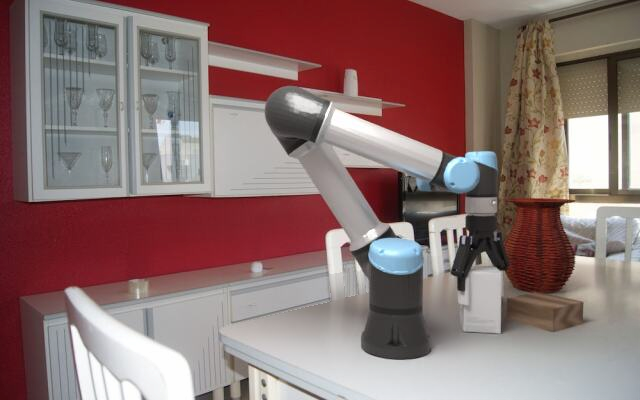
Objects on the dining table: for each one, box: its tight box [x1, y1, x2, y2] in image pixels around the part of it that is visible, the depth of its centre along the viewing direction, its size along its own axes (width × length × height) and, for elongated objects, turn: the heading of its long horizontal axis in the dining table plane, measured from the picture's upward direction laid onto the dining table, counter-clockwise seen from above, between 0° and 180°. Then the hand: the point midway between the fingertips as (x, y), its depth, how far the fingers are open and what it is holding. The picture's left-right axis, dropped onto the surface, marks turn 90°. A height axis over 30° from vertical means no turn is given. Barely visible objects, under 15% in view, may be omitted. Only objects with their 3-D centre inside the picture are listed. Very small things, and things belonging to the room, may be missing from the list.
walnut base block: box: [506, 292, 584, 333], centre depth 129 cm, size 13×13×6 cm
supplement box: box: [459, 265, 502, 335], centre depth 123 cm, size 9×9×15 cm
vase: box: [502, 197, 577, 294], centre depth 166 cm, size 23×24×30 cm
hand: (481, 299), depth 123 cm, fingers open, 13 cm apart
